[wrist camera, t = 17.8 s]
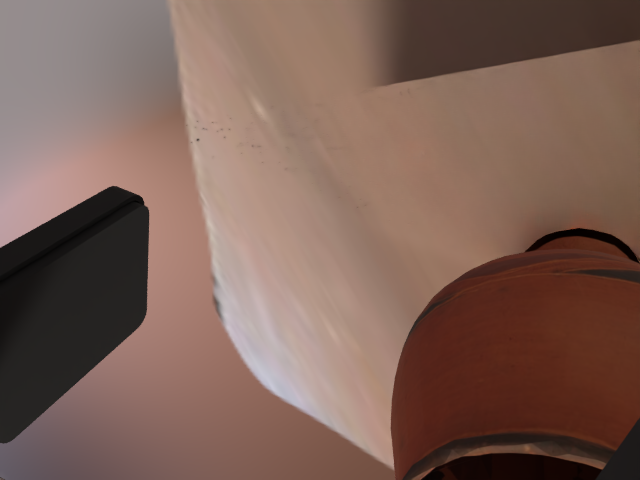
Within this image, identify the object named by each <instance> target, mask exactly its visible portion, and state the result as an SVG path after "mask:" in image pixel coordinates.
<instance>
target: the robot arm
mask: <svg viewBox="0 0 640 480" xmlns="http://www.w3.org/2000/svg"><path fill="white" fill-rule="evenodd" d="M148 241H149V210H148V208H147V207H146V206H144V201H143V198H142V197H141V196H139V195H137V194H134V193H132V192H129V191H127V190H124V189H122V188H119V187H117V186H112V187H109V188H107V189H105V190H103V191H101V192H100V193H98V194H96V195H94V196H93V197H91V198H89V199H87V200H85V201H83V202H82V203H80V204H78V205H76V206H75V207H73V208H71V209H69V210H67V211H66V212H64V213H62V214H60V215H58V216H57V217H55V218H53V219H51V220H50V221H48V222H46V223H44V224H42V225H40V226H39V227H37V228H35V229H33V230H31V231H30V232H28V233H26V234H25V235H22V236H21V237H19V238H17V239H15V240H14V241H12V242H10V243H8V244H7V245H5V246H3V247H1V248H0V443H8V442H10V441H12V440H13V439H14V438H15V437H16V436H18V435H19V434H20V433H21V432H22V431H23V430H24V429H26V428H27V427H28V426H29V425H30V424H31V423H32V422H33V421H35V420H36V419H37V418H38V417H39V416H40V415H41V414H42V413H44V412H45V411H46V410H47V409H48V408H49V407H50V406H51V405H52V404H54V403H55V402H56V401H57V400H58V399H59V398H60V397H61V396H63V395H64V394H65V393H66V392H67V391H68V390H69V389H70V388H71V387H73V386H74V385H75V384H76V383H77V382H78V381H79V380H80V379H81V378H83V377H84V376H85V375H86V374H87V373H88V372H89V371H90V370H92V369H93V368H94V367H95V366H96V365H97V364H98V363H99V362H100V361H102V360H103V359H104V358H105V357H106V356H107V355H108V354H109V353H110V352H112V351H113V350H114V349H115V348H116V347H117V346H118V345H119V344H121V342H123V341H124V340H125V339H126V338H127V337H128V336H130V335H131V334H132V333H133V332H134V331H135V330H136V329H137V328H138V327H139V326H140V325H141V323H142V322H143V320H144V318H145V315H146V311H147V279H148ZM0 480H5V479H3V478H1V477H0ZM595 480H640V418H639V419H638V420H637V422H636V423H635V425H634V426H633V428H632V429H631V430H630V432H629V433H628V435H627V436H626V437H625V439H624V440H623V442H622V443H621V444H620V446H619V447H618V449H617V450H616V451H615V453H614V454H613V456H612V457H611V458H610V460H609V461H608V463H607V464H606V465H605V467H604V468H603V470H602V471H601V472H600V474H599V475H598V477H597V478H596V479H595Z"/></svg>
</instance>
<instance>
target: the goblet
mask: <svg viewBox="0 0 640 480" xmlns="http://www.w3.org/2000/svg"><path fill="white" fill-rule="evenodd" d="M639 418H640V262H639V261H638V259H637V257H636V255H635V254H634V252H633V251H632V250H631V249H630V247H629V246H627V245H626V244H625V243H623V242H622V241H621V240H620V239H618V238H616V237H615V236H613V235H611V234H607V233H603V232H599V231H595V230H591V229H583V228H576V229H570V230H563V231H557V232H554V233H550V234H547V235H545V236H543V237H542V238H540V239H538V240H537V241H536V242H535V243H534V244H532V245H531V246H530V247H529V248H528V249H527V250H526V251H525V252H524V253H519V254H514V255H509V256H504V257H501V258H498V259H495V260H492V261H490V262H487V263H485V264H483V265H480V266H478V267H476V268H474V269H472V270H470V271H468V272H466V273H465V274H463V275H462V276H460V277H459V278H457V279H456V280H454V281H453V282H452V283H450V284H449V285H447V286H446V287H444V288H443V289H442V290H441V291H440V292H439V293H438V294H436V295H435V296H434V297H433V298H432V299H431V301H430V302H429V304H428V305H427V306H426V308H425V309H424V310H423V312H422V313H421V314H420V316H419V317H418V318H417V320H416V321H415V323H414V325H413V327H412V329H411V330H410V332H409V335H408V337H407V339H406V342H405V344H404V347H403V350H402V353H401V356H400V359H399V363H398V368H397V372H396V376H395V382H394V389H393V396H392V410H391V436H392V446H393V456H394V469H395V479H396V480H595V479H596V478H597V477H598V475H599V474H600V472H601V471H602V470H603V468H604V467H605V465H606V464H607V463H608V461H609V460H610V458H611V457H612V456H613V454H614V453H615V451H616V450H617V449H618V447H619V446H620V444H621V443H622V442H623V440H624V439H625V437H626V436H627V435H628V433H629V432H630V430H631V429H632V428H633V426H634V425H635V423H636V422H637V420H638V419H639Z"/></svg>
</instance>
